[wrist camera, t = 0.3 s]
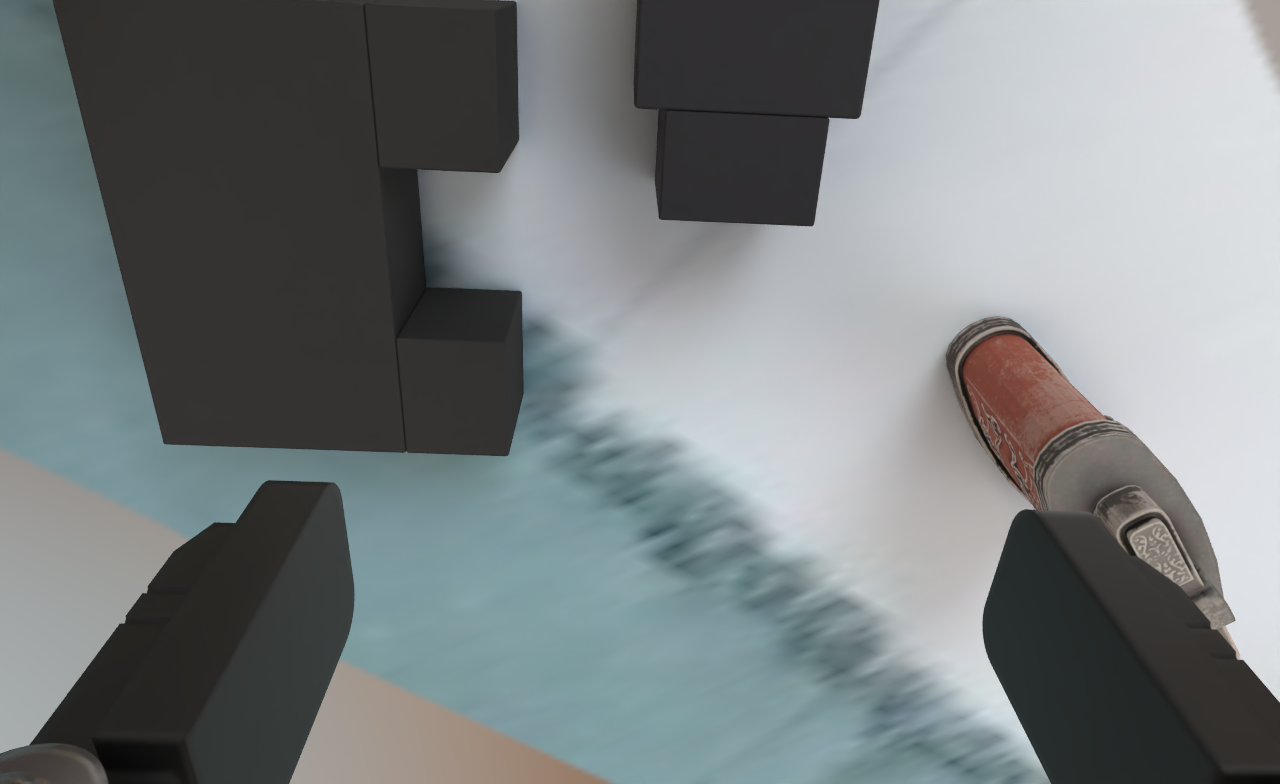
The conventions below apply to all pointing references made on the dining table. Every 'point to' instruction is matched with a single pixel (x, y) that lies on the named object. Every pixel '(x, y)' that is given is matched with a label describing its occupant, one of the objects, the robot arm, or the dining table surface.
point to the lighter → (1080, 458)
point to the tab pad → (748, 101)
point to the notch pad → (302, 214)
